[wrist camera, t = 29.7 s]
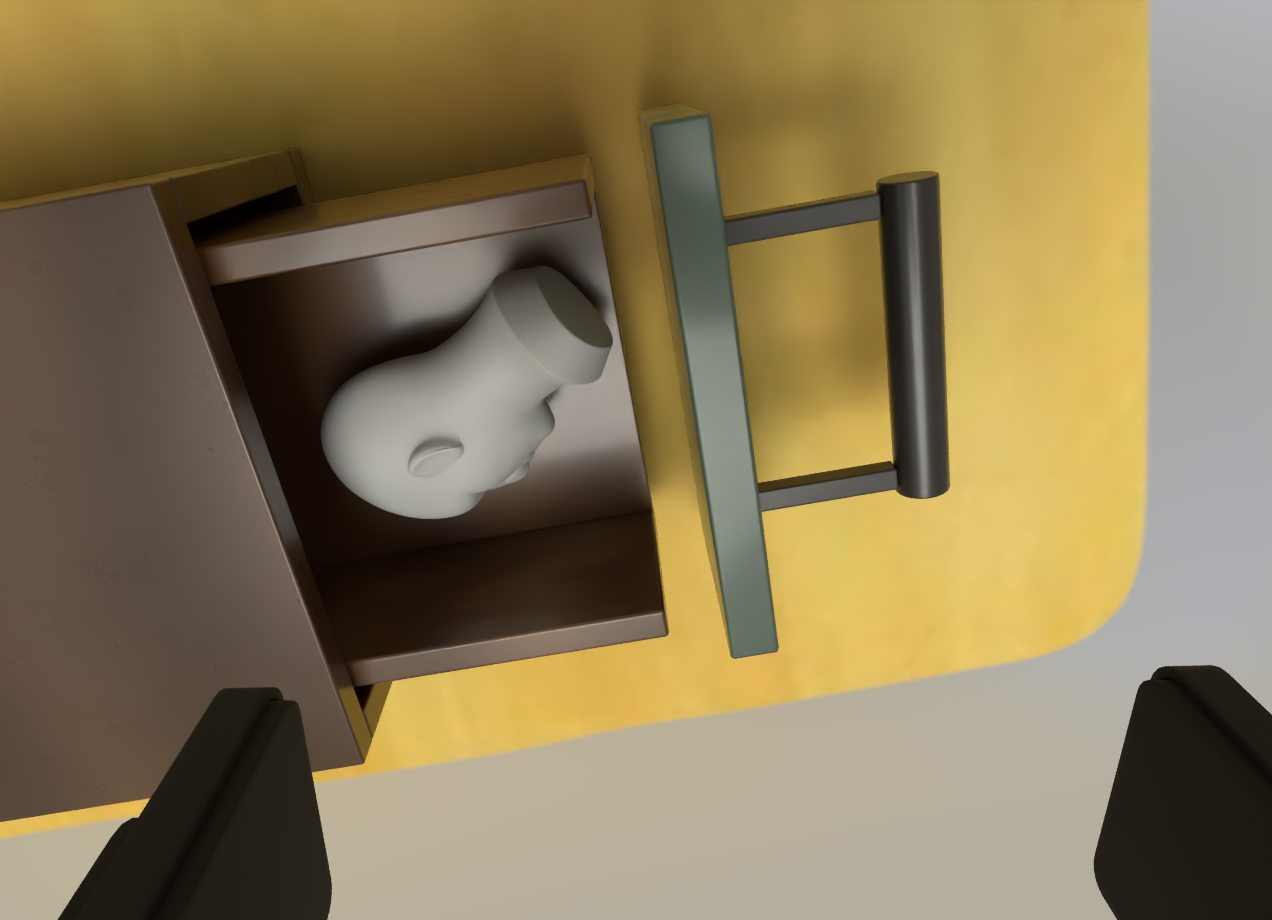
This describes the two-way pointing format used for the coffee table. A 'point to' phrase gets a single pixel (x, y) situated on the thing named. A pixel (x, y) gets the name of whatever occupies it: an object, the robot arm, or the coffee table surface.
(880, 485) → the drawer
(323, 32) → the coffee table surface
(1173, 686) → the robot arm
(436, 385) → the pale two-lobed sculpture
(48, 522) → the cabinet
